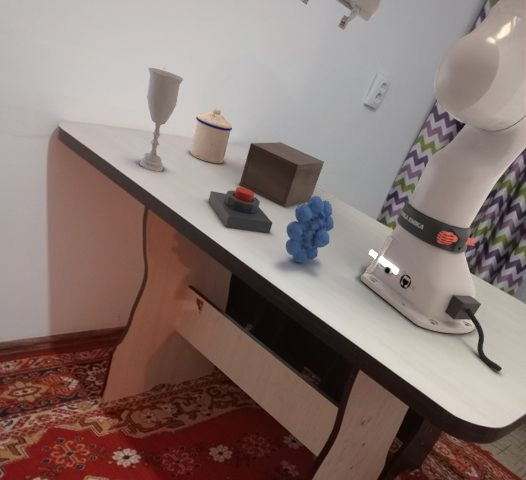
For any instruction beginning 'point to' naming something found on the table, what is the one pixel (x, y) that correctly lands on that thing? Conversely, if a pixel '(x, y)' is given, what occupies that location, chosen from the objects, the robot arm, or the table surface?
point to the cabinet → (280, 173)
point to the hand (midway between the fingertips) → (323, 14)
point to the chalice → (160, 109)
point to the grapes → (309, 229)
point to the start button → (244, 194)
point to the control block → (239, 212)
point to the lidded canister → (211, 137)
